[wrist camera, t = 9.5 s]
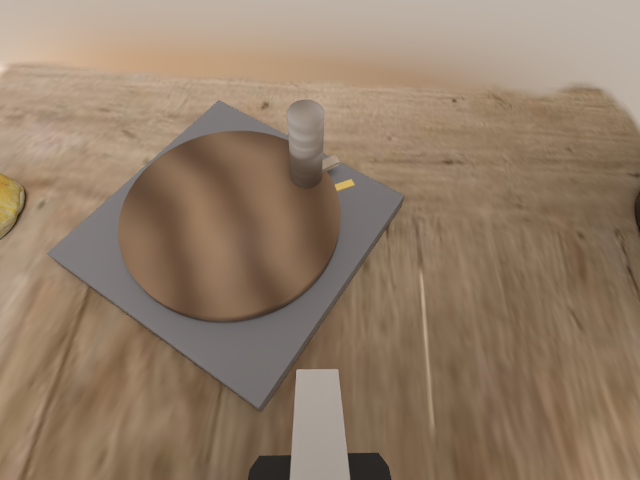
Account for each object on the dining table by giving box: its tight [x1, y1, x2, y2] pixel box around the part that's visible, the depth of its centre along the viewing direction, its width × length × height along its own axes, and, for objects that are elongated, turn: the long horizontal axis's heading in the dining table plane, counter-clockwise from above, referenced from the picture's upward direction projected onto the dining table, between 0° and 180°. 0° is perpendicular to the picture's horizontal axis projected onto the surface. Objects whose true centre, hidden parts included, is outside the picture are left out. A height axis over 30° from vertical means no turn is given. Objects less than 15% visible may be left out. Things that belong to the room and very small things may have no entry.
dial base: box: [47, 101, 405, 412], centre depth 41 cm, size 24×24×2 cm
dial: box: [118, 100, 341, 322], centre depth 36 cm, size 22×20×10 cm
